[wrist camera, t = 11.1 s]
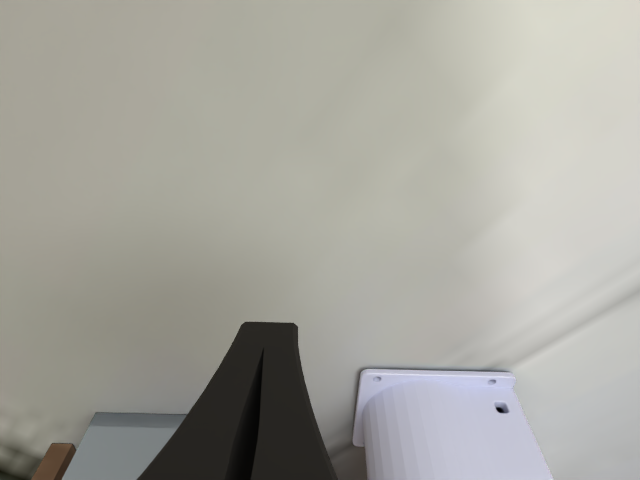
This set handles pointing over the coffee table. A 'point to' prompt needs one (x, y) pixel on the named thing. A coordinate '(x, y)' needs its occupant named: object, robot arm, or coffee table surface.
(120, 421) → the tray
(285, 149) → the coffee table surface
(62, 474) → the wooden slatted crate
